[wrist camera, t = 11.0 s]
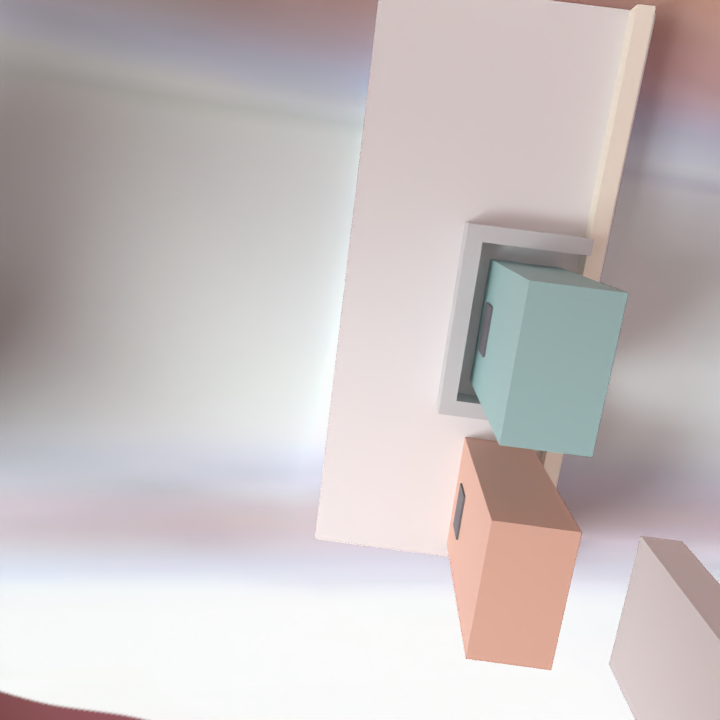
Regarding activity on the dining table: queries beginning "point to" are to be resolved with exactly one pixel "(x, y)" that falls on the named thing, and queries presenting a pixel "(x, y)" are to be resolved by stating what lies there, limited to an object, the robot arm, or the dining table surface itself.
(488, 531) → the terracotta carton
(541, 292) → the teal carton
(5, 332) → the dining table surface
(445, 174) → the shelf
